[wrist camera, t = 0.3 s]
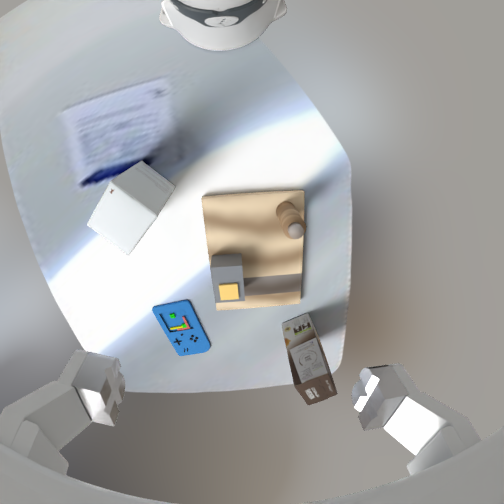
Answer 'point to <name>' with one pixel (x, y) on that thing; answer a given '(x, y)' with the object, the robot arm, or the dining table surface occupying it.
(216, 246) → the plywood board
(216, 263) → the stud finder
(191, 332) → the handheld gaming device
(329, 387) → the brown food box
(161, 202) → the supplement box
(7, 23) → the dining table surface
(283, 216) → the marker peg
